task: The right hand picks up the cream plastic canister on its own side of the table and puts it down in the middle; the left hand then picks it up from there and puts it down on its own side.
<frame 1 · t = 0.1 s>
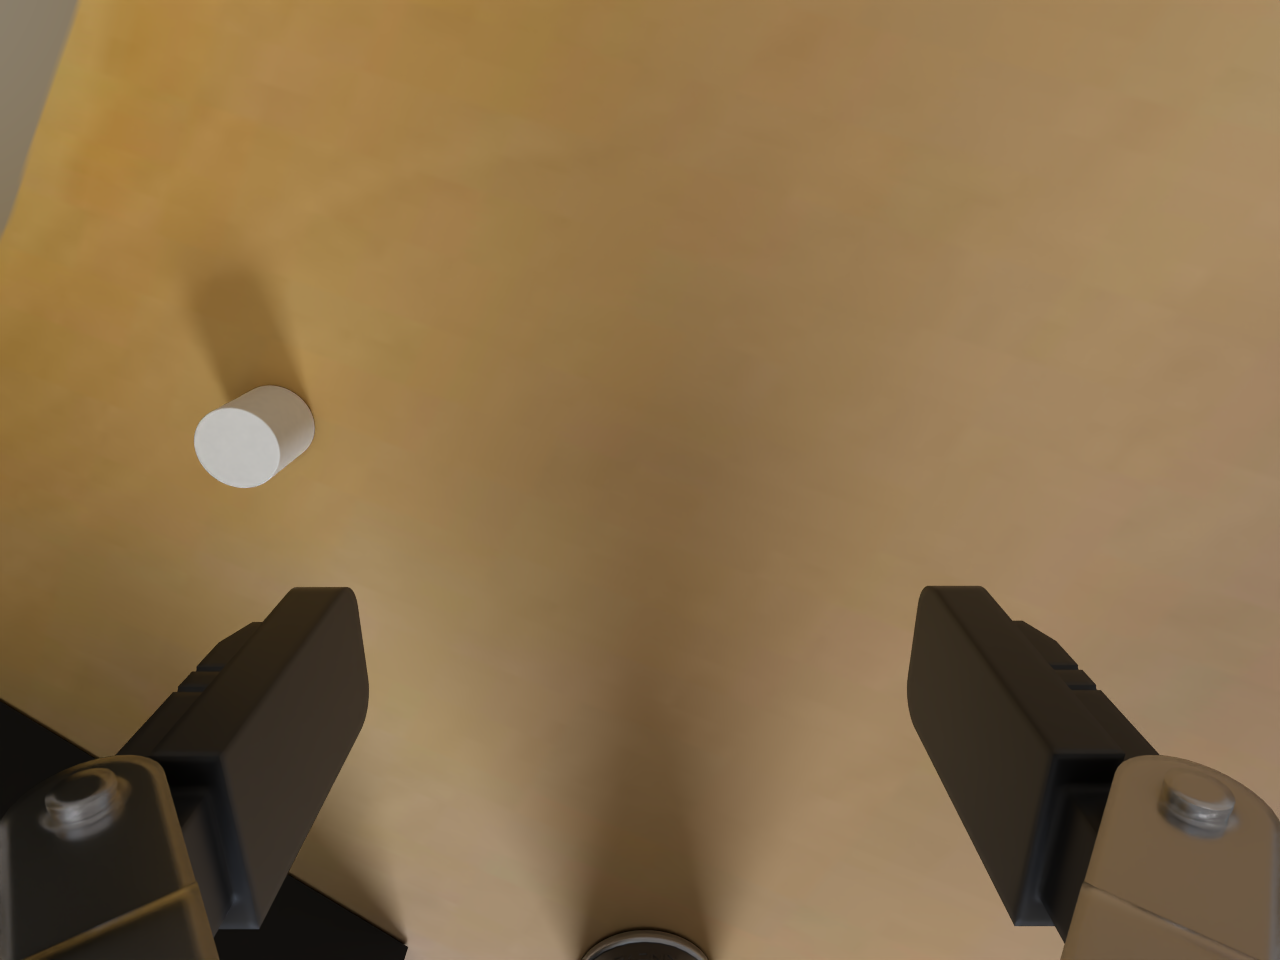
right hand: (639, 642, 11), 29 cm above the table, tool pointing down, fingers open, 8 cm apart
canister: (276, 422, 40), on the table
cardboard box: (81, 887, 52), on the table
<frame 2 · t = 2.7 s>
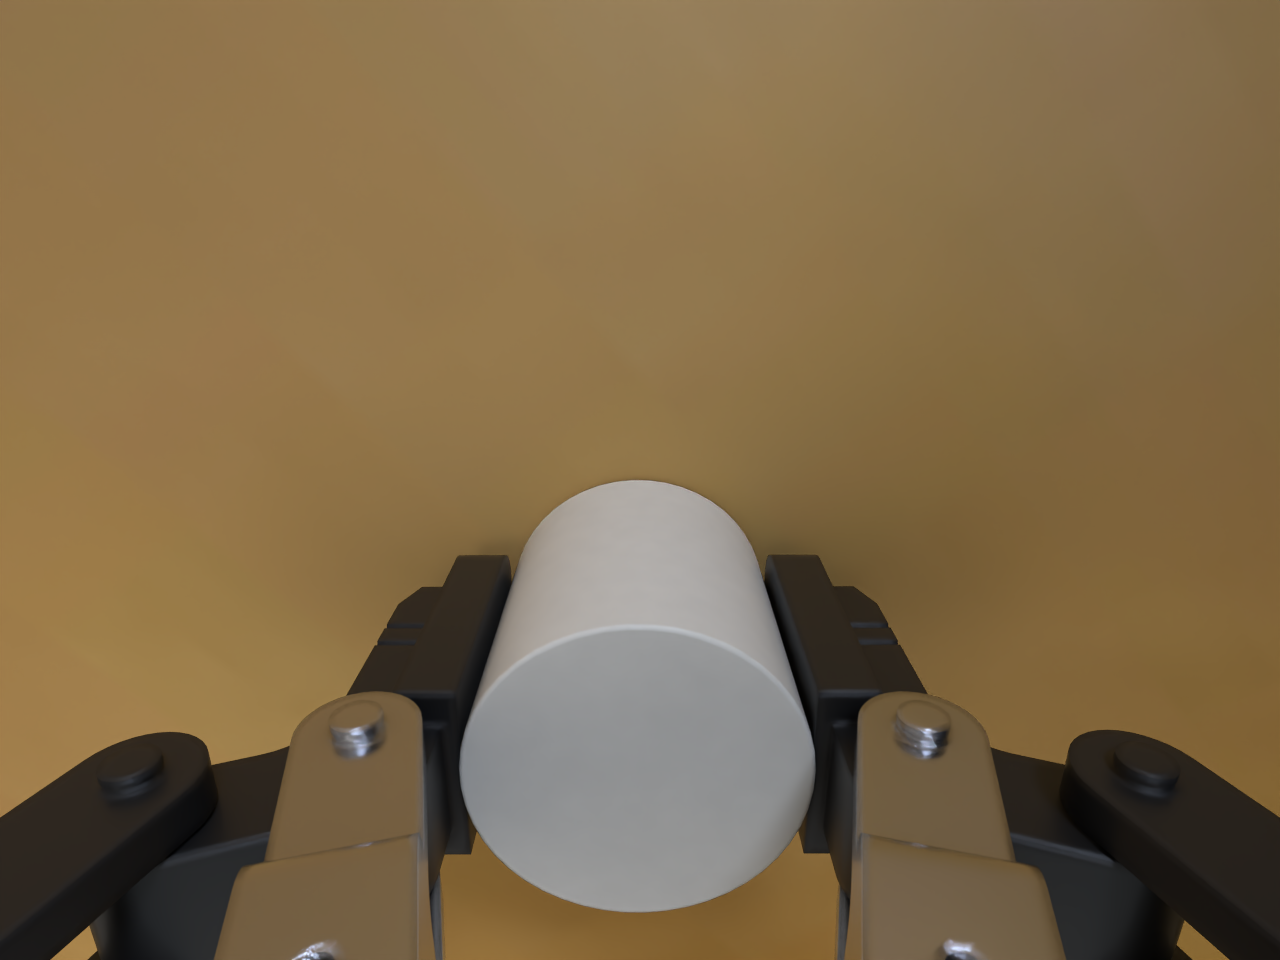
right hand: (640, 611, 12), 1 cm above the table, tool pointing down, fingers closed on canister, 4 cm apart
canister: (638, 593, 13), on the table, touching right hand
when the right hand's fingers open (1 cm above the table, at t = 9.4 s): canister moves 1 cm, point 2 cm above the table.
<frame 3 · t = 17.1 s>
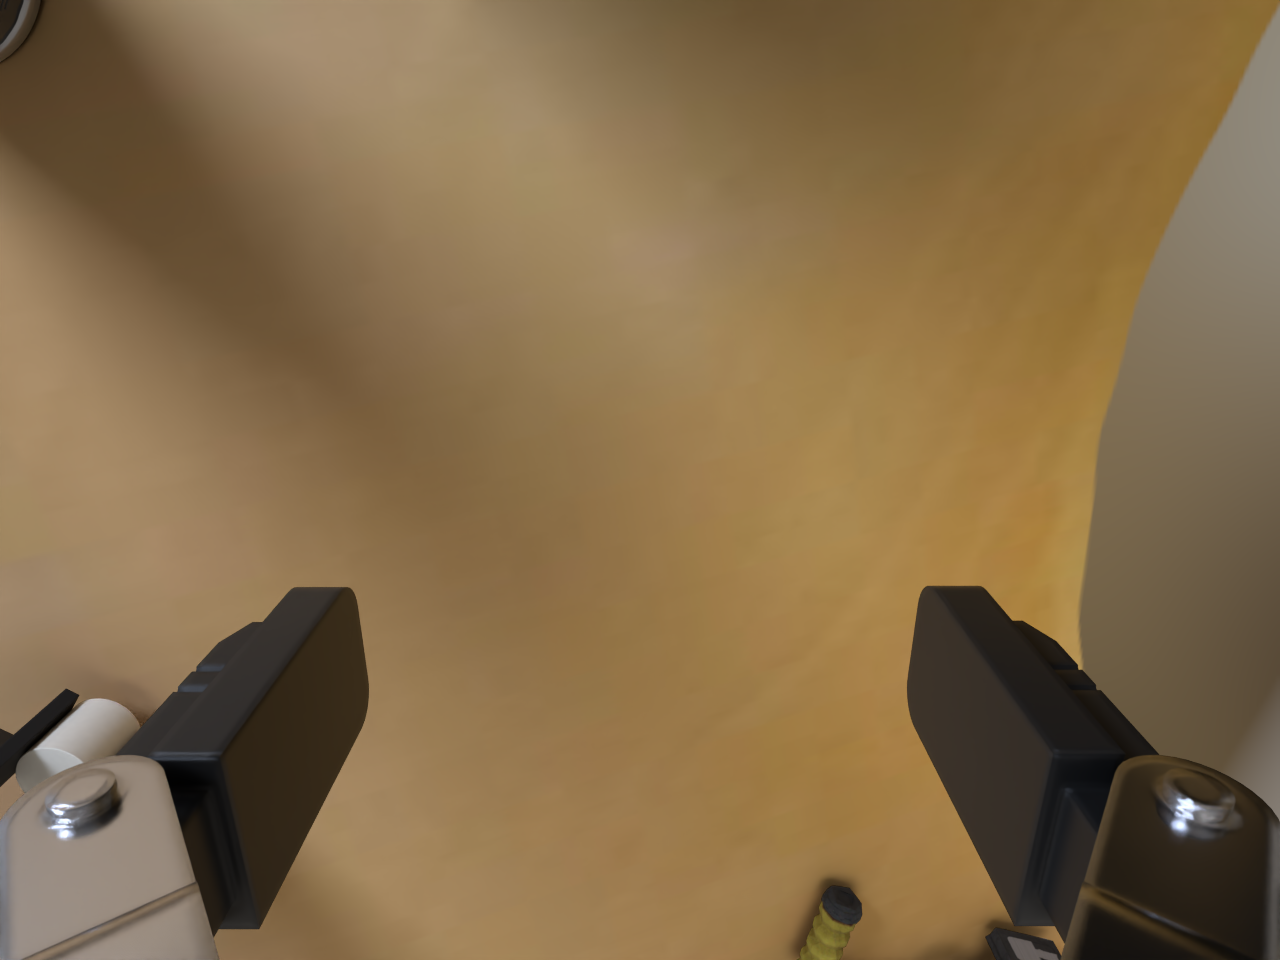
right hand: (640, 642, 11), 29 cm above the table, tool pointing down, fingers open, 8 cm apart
canister: (105, 727, 45), point 2 cm above the table, touching left hand
when the left hand's fingers open (0 cm above the table, at t = 26.9 s): canister stays where it is, on the table.
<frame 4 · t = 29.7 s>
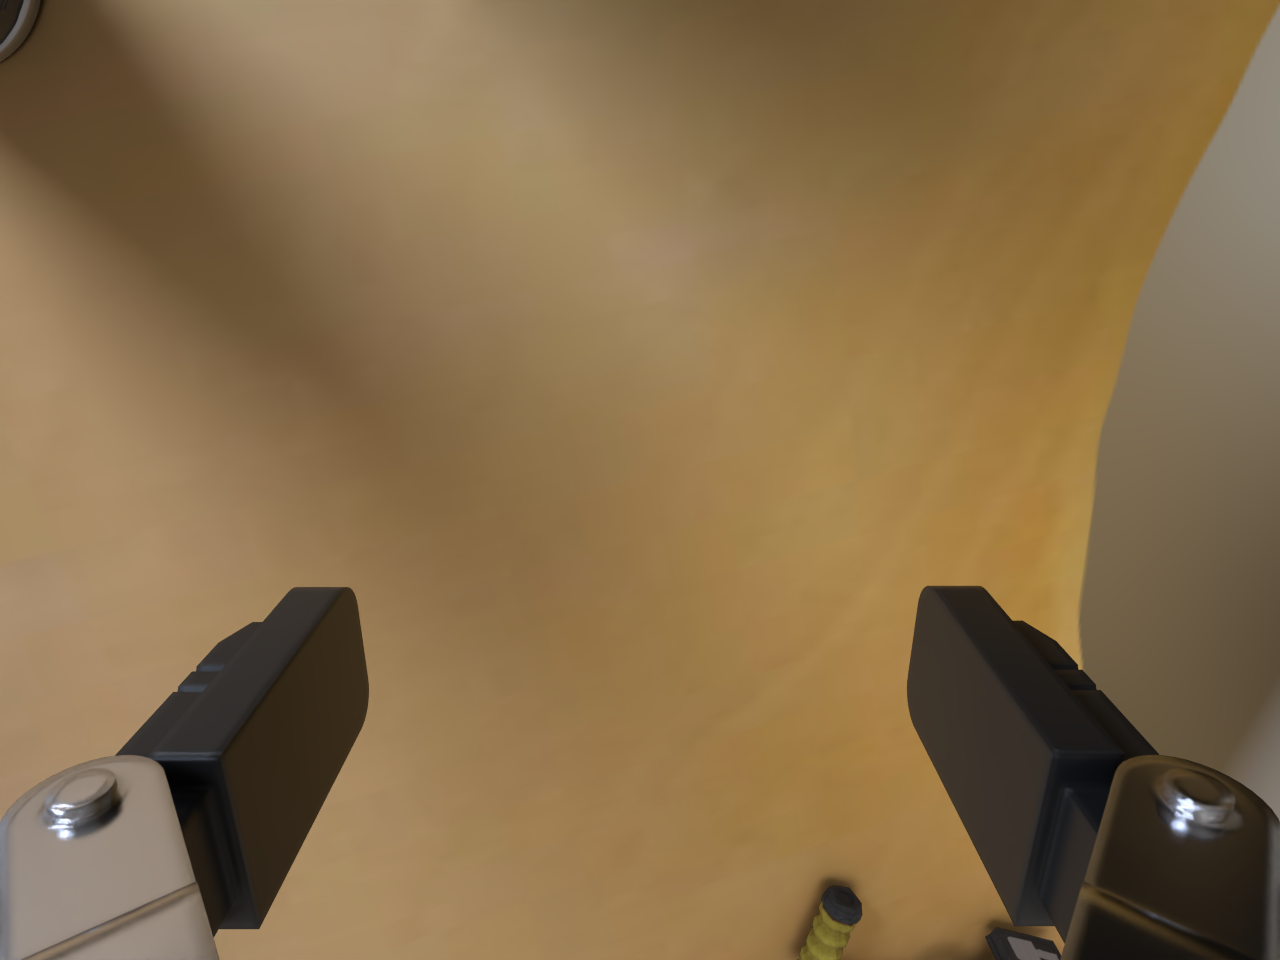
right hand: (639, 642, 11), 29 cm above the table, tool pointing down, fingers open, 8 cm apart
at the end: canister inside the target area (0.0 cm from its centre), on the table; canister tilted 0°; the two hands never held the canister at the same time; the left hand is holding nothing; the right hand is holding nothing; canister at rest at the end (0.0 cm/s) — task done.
